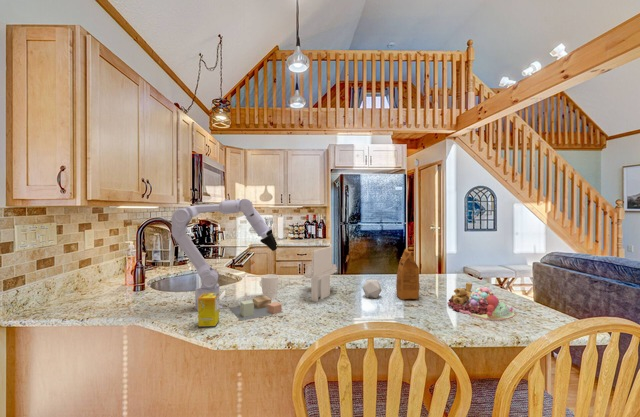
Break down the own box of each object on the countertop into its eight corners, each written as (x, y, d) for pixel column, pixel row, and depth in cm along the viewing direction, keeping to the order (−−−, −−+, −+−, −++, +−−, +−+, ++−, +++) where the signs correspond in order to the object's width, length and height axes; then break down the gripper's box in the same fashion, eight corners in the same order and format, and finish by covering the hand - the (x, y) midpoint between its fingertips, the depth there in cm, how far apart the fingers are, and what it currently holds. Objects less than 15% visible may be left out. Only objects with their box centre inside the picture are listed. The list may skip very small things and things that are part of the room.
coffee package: (415, 293, 153) (415, 248, 153) (421, 301, 141) (421, 252, 140) (394, 292, 154) (394, 248, 154) (398, 300, 142) (398, 252, 141)
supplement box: (203, 322, 116) (202, 293, 116) (219, 321, 116) (219, 292, 116) (197, 328, 110) (197, 297, 110) (215, 328, 110) (215, 297, 110)
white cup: (269, 301, 141) (269, 279, 141) (257, 297, 146) (257, 276, 145) (281, 297, 147) (281, 275, 147) (270, 294, 152) (270, 273, 152)
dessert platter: (437, 307, 133) (437, 286, 133) (463, 297, 148) (463, 277, 148) (501, 325, 114) (502, 300, 113) (524, 311, 129) (524, 288, 129)
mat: (241, 321, 116) (241, 320, 116) (228, 308, 131) (228, 307, 131) (282, 312, 126) (282, 312, 126) (266, 301, 140) (266, 301, 140)
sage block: (243, 317, 120) (243, 304, 120) (240, 314, 123) (240, 301, 123) (253, 315, 122) (253, 302, 122) (250, 312, 126) (250, 299, 125)
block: (273, 314, 124) (273, 306, 123) (267, 311, 126) (267, 304, 126) (281, 311, 126) (281, 304, 126) (275, 309, 129) (275, 301, 129)
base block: (257, 309, 129) (257, 301, 129) (252, 305, 134) (252, 298, 134) (271, 306, 133) (271, 299, 133) (265, 302, 138) (265, 295, 138)
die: (383, 296, 149) (374, 278, 154) (385, 292, 142) (376, 273, 146) (368, 303, 148) (359, 285, 153) (369, 299, 141) (360, 280, 145)
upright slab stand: (300, 287, 165) (300, 242, 164) (340, 287, 164) (340, 242, 164) (295, 304, 137) (294, 251, 136) (343, 304, 136) (343, 251, 136)
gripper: (264, 220, 129) (282, 246, 132) (265, 215, 144) (282, 239, 146) (250, 229, 129) (269, 255, 131) (252, 224, 143) (269, 247, 145)
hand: (275, 247), depth 138 cm, fingers open, 7 cm apart
